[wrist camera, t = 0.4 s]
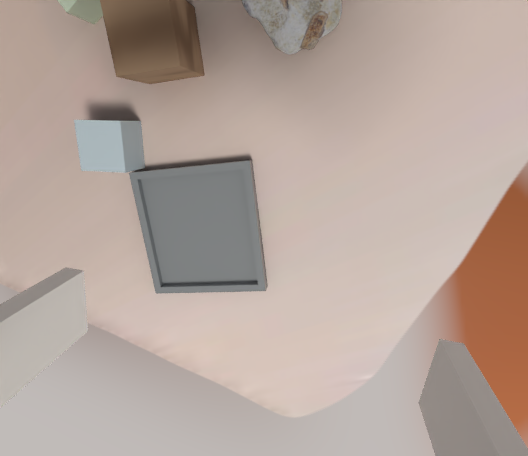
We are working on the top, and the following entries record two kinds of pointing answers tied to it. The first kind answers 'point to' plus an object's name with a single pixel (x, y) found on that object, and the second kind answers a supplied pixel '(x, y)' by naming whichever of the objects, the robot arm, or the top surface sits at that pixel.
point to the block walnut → (153, 39)
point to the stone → (295, 21)
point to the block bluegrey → (110, 145)
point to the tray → (201, 227)
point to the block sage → (83, 9)
